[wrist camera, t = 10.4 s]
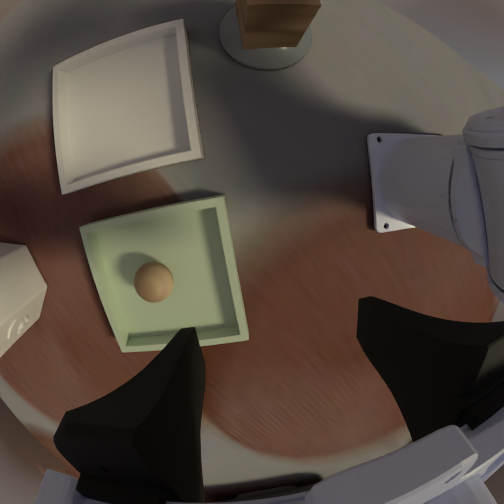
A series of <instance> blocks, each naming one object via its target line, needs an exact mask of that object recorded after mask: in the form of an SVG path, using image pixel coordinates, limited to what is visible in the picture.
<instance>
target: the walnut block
mask: <svg viewBox="0 0 504 504" xmlns="http://www.w3.org/2000/svg"><path fill="white" fill-rule="evenodd" d="M320 7H321V3H320V0H236V14H237V20H238V25H239V31H240V36H241V42H242V48H243V50H249V49H261V48H279V47H297V45H298V44H299V42H300V40H301V38H302V37H303V35H304V33H305V32H306V30H307V28H308V26H309V25H310V23H311V21H312V20H313V18H314V16H315V15H316V13H317V11H318V10H319V8H320Z"/></svg>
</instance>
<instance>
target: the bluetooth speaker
mask: <svg viewBox="0 0 504 504" xmlns="http://www.w3.org/2000/svg"><path fill="white" fill-rule="evenodd" d="M316 484H317V483H316ZM314 485H315V484H312V485H307V486H302V487H296V486H294V485H287V486H281V487H276V488H271V489H266V490H260V491H254V492H249V493H243V494H239V495H238V496H237V497H236V498H235V499H230V500H224V501H216V502H210V503H223V502H239V501H250V500H259V499H267V498H274V497H280V496H286V495H292V494H297V493H302V492H306V491H310V490H311V488H312V487H313V486H314Z"/></svg>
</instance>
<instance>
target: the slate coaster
mask: <svg viewBox="0 0 504 504" xmlns="http://www.w3.org/2000/svg"><path fill="white" fill-rule="evenodd" d="M219 37H220V42H221V45H222V47H223V49H224V50H225V52H226V53H227V54H228V55H229V56H230V57H231V58H232V59H233V60H235V61H236V62H238V63H240V64H241V65H244V66H246V67H249V68H252V69H256V70H263V71H274V70H281V69H285V68H288V67H290V66H292V65H294V64H296V63H297V62H299V61H300V60H301V59H302V58H303V57H304V56H305V54H306V53H307V51H308V50H309V48H310V45H311V41H312V33H311V29H310V26H308V28H307V30H306V32H305V33H304V35H303V37H302V38H301V40H300V42H299V44H298V45H297V47H279V48H261V49H249V50H243V48H242V42H241V36H240V31H239V25H238V20H237V14H236V6H234V7H233V8H231V9H230V10H229V11H228V12H227V13H226V14H225V16H224V17H223V19H222V21H221V23H220V27H219Z"/></svg>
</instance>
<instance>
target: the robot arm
mask: <svg viewBox="0 0 504 504" xmlns="http://www.w3.org/2000/svg"><path fill="white" fill-rule="evenodd" d="M462 133H463V135H447V136H437V135H422V134H395V133H372V134H369V135H368V136H367V145H368V153H369V161H370V171H371V182H372V194H373V210H374V228H375V230H376V231H377V232H379V233H383V232H389V231H395V230H401V229H407V228H413V227H417V228H419V229H422V230H424V231H427V232H429V233H432V234H434V235H436V236H439V237H441V238H444V239H446V240H448V241H450V242H453V243H455V244H457V245H460V246H462V247H464V248H466V249H468V250H470V251H471V253H472V254H473V258H474V262H475V263H477V264H479V265H481V266H483V267H485V268H487V279H488V284H489V287H490V289H491V291H492V292H493V294H494V295H495V296H496V297H497V298H498V299H499V300H501V301H502V302H503V303H504V107H499V108H494V109H490V110H487V111H483V112H480V113H477V114H475V115H473V116H471V117H470V118H469V119H468V121H467V123H466V126H465V127H464V128H463V130H462ZM377 137H379V138H380V142H378V141H377ZM385 223H386V224H387V226H386V228H384V224H385ZM356 337H357V339H358V341H359V343H360V345H361V347H362V349H363V351H364V353H365V354H366V356H367V357H368V359H369V360H370V362H371V363H372V364H373V366H374V367H375V369H376V370H377V372H378V373H379V374H380V376H381V377H382V379H383V380H384V381H385V383H386V384H387V386H388V387H389V389H390V391H391V392H392V394H393V396H394V398H395V400H396V402H397V404H398V406H399V408H400V410H401V413H402V415H403V417H404V419H405V422H406V424H407V427H408V429H409V432H410V435H411V437H412V440H413V443H411V444H409V445H407V446H405V447H402V448H400V449H398V450H396V451H393V452H391V453H388V454H386V455H384V456H381V457H379V458H376V459H373V460H371V461H368V462H365V463H362V464H359V465H356V466H353V467H351V468H348V469H346V470H343V471H341V472H338V473H336V474H333V475H331V476H329V477H327V478H325V479H324V480H322V481H320V482H318V483H317V484H315V485H314V486H313V487H312V488H311V490H310V491H306V492H302V493H297V494H292V495H286V496H280V497H274V498H267V499H259V500H250V501H239V502H223V503H205V496H204V488H203V477H202V464H201V441H200V429H201V417H202V408H203V400H204V392H205V362H204V358H203V355H202V351H201V347H200V344H199V340H198V336H197V332H196V329H195V327H188V328H181V329H180V330H179V331H178V332H177V333H176V335H175V336H174V337H173V338H172V339H171V341H170V342H169V343H168V344H167V345H166V346H165V347H164V349H163V350H162V351H161V352H160V353H159V354H158V355H157V356H156V357H155V358H154V359H153V360H152V361H151V362H150V363H149V364H148V365H147V366H146V367H145V368H144V369H143V370H142V371H140V372H139V373H138V374H137V375H136V376H134V377H133V378H132V379H130V380H129V381H128V382H126V383H125V384H123V385H122V386H120V387H119V388H117V389H116V390H114V391H112V392H111V393H109V394H107V395H105V396H103V397H102V398H100V399H97V400H95V401H93V402H91V403H89V404H86V405H84V406H81V407H78V408H76V409H73V410H70V411H67V412H66V413H65V415H64V417H63V419H62V421H61V423H60V425H59V427H58V429H57V431H56V433H55V435H54V443H55V446H56V448H57V449H58V451H59V452H60V453H61V454H62V455H63V457H64V458H65V459H66V460H67V461H68V462H69V463H70V464H71V465H72V466H73V467H74V468H75V469H76V470H78V471H79V472H80V473H81V474H80V477H79V480H77V479H76V478H74V477H72V476H69V475H66V474H63V473H60V472H57V471H54V470H51V469H47V471H46V473H45V476H44V478H43V481H42V483H41V486H40V489H39V492H38V494H37V498H36V500H35V503H34V504H497V503H496V501H495V499H494V498H493V496H492V495H491V493H490V492H489V490H488V489H487V487H486V486H485V484H484V481H485V480H486V479H487V478H488V477H490V476H491V475H492V474H493V473H494V472H495V471H497V470H498V469H499V468H500V467H501V466H502V465H503V464H504V321H501V322H490V323H471V322H459V321H451V320H445V319H440V318H436V317H431V316H428V315H424V314H421V313H418V312H415V311H412V310H409V309H406V308H403V307H400V306H398V305H395V304H392V303H390V302H387V301H384V300H381V299H379V298H375V297H371V296H370V297H365V298H361V299H359V305H358V322H357V336H356Z"/></svg>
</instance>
